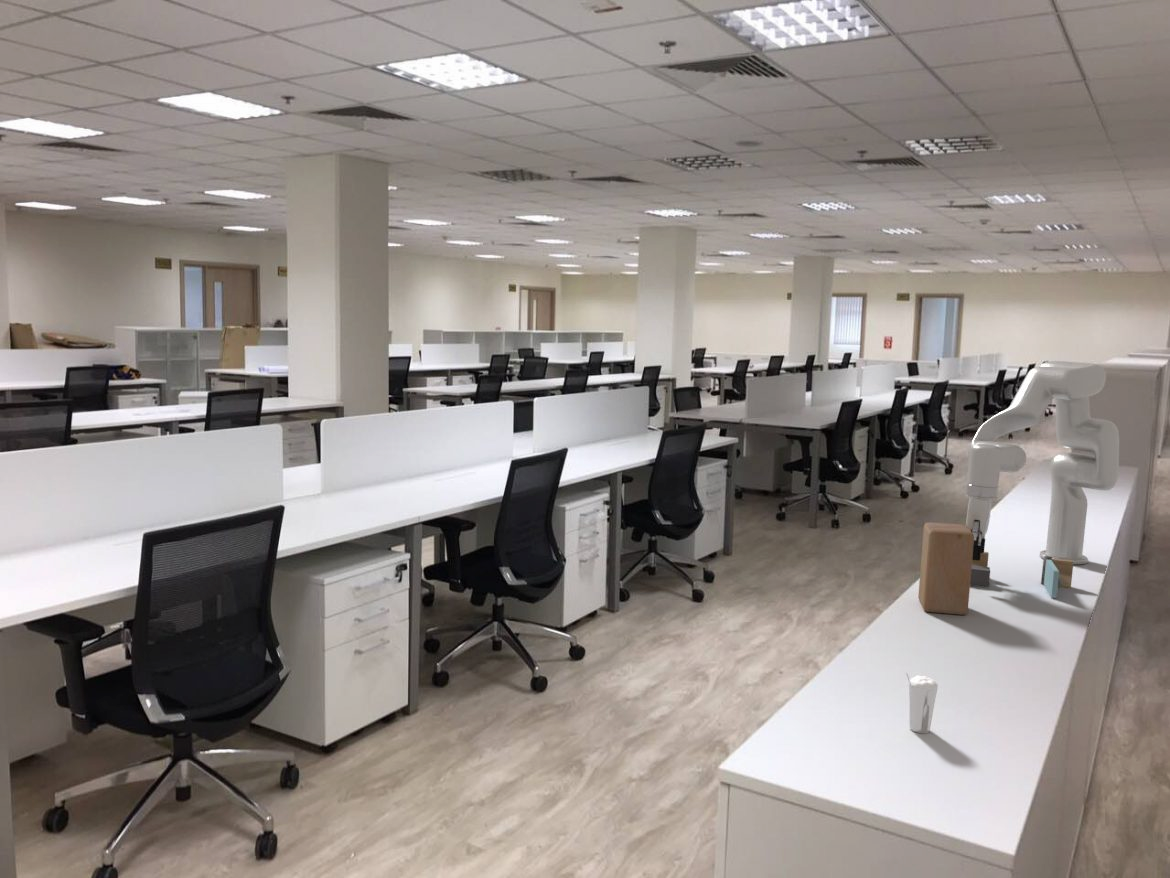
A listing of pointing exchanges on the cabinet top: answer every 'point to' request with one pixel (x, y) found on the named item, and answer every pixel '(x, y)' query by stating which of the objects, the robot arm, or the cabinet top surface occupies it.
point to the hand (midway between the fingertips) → (975, 555)
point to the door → (1052, 578)
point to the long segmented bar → (1062, 565)
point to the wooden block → (946, 568)
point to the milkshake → (921, 702)
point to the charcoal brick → (980, 576)
